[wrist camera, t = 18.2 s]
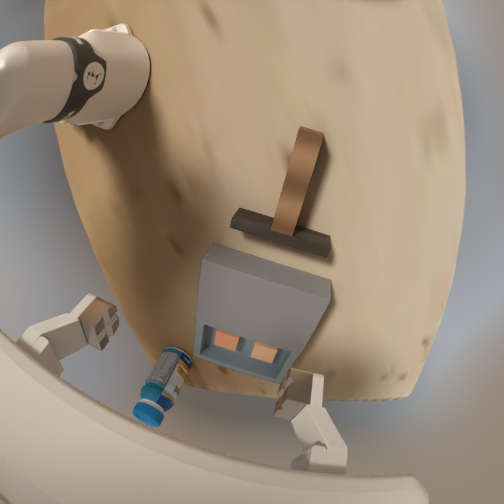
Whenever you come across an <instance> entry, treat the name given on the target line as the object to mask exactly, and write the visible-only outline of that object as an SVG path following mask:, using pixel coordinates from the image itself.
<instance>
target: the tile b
mask: <svg viewBox="0 0 504 504" xmlns="http://www.w3.org/2000/svg"><path fill="white" fill-rule="evenodd" d="M277 351H278V348H275V347H272V346H269V345H265V344H262V343H259V342H256V341H255V344H254V346H253V349H252V352H251V356H250V357H252V358H256V359H259V360H262V361H266V362H269V363H272V361H273V359H274V357H275V355H276V353H277Z"/></svg>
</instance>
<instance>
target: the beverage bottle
mask: <svg viewBox="0 0 504 504" xmlns="http://www.w3.org/2000/svg"><path fill="white" fill-rule="evenodd" d="M192 364H193V362H192V359H191V357H190V356H189V355H188V354H187V353H186V352H184V351H183V350H181V349H179V348H176V347H166V348H165V349H164V350H163V352H162V354H161V356H160V358H159V359H158V361H157V363H156V364H155V366H154V368H153V370H152V371H151V373H150V375H149V376H148V377H147V379H146V381H145V386H143V387H142V388H141V401H139V402H137V404H136V406H135V407H134V409H133V414H134V416H135V417H136V418H138V419H139V420H141V421H142V422H144V423H146V424H148V425H151V426H154V427H159V425H160V424H161V422H162V420H163V418H164V413H163V412H166V411H167V410H169V409H170V408H171V407H172V406H173V405H174V400H175V399H176V398H177V397H178V395H179V392H180V390H181V387H182V385H183V383H184V381H185V379H186V377H187V375H188V372H189V370H190V368H191V367H192Z"/></svg>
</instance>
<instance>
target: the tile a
mask: <svg viewBox="0 0 504 504" xmlns="http://www.w3.org/2000/svg"><path fill="white" fill-rule="evenodd" d="M239 339H240V336H237V335H234V334H231V333H228V332H225V331H222V330H219V329H217V331H216V336H215V341H214V345H217V346H220V347H223V348H225V349H228V350H231V351H234V352H235V350H236V348H237V345H238V342H239Z"/></svg>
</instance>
